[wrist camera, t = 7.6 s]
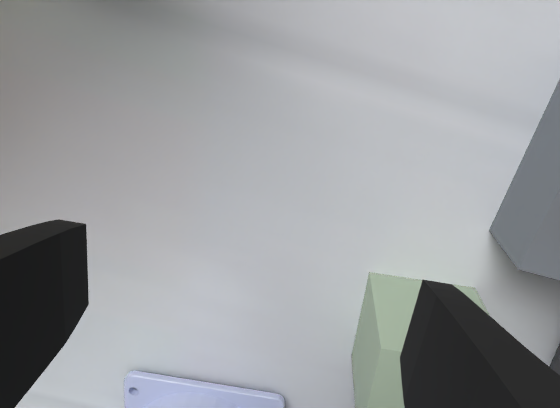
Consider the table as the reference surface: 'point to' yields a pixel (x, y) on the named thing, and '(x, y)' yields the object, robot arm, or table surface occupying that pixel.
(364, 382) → the sage block
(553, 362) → the card
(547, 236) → the slate base block
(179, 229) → the table surface
